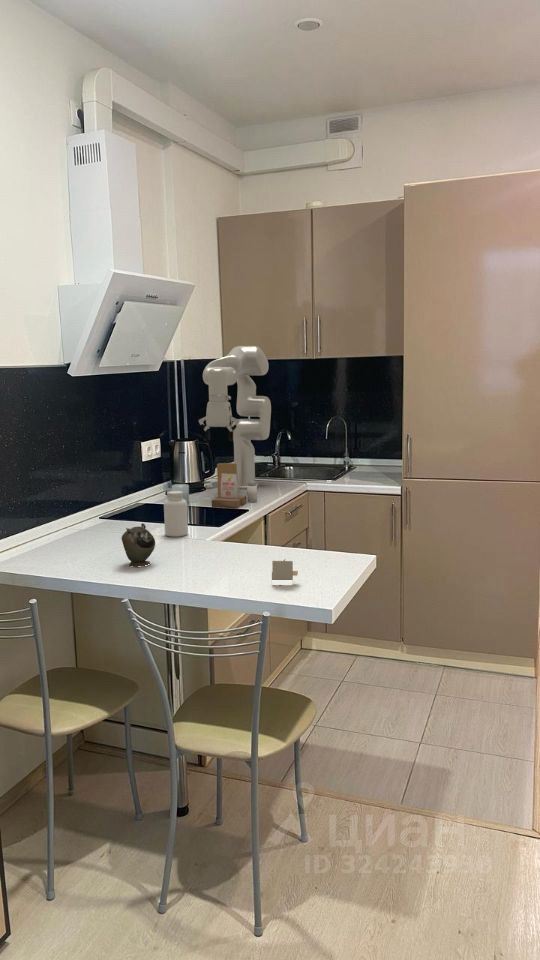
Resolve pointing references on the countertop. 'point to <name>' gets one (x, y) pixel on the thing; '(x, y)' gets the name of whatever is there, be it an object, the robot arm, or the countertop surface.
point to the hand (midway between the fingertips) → (219, 440)
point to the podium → (229, 502)
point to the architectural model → (283, 570)
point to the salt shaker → (252, 491)
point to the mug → (183, 488)
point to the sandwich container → (226, 472)
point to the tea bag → (229, 486)
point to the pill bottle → (175, 514)
